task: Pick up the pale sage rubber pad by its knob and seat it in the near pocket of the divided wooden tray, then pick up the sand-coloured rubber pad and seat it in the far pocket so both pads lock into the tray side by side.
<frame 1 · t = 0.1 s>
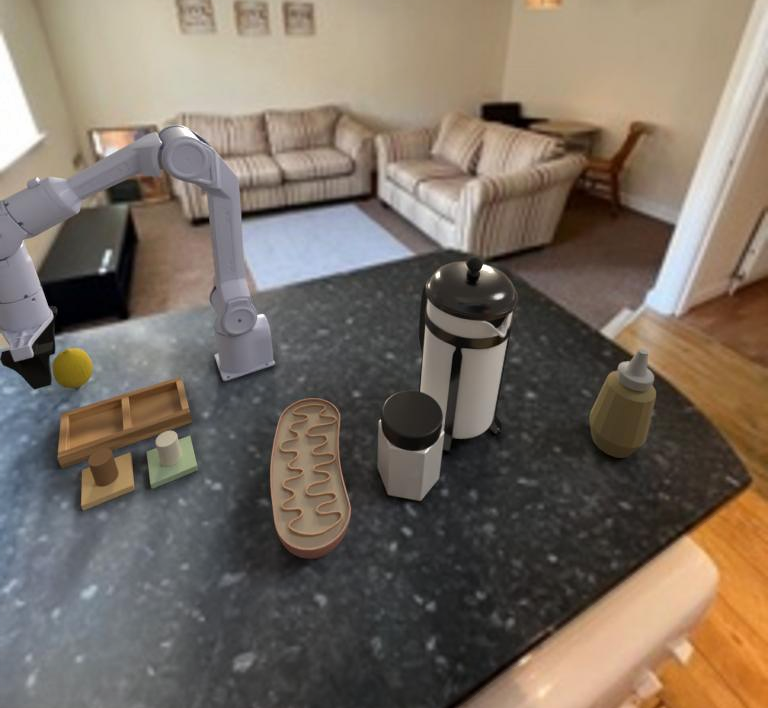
hand: (45, 369, 67), 10 cm above the worktop, tool pointing down, fingers open, 7 cm apart
sage pad: (172, 463, 65), on the worktop
coffee press: (448, 414, 75), on the worktop
lemon: (79, 387, 78), on the worktop
squeeze bottle: (611, 443, 70), on the worktop
anatomical model: (309, 487, 62), on the worktop
divided wooden tray: (129, 423, 71), on the worktop
jar: (407, 474, 64), on the worktop
sand pad: (108, 482, 62), on the worktop
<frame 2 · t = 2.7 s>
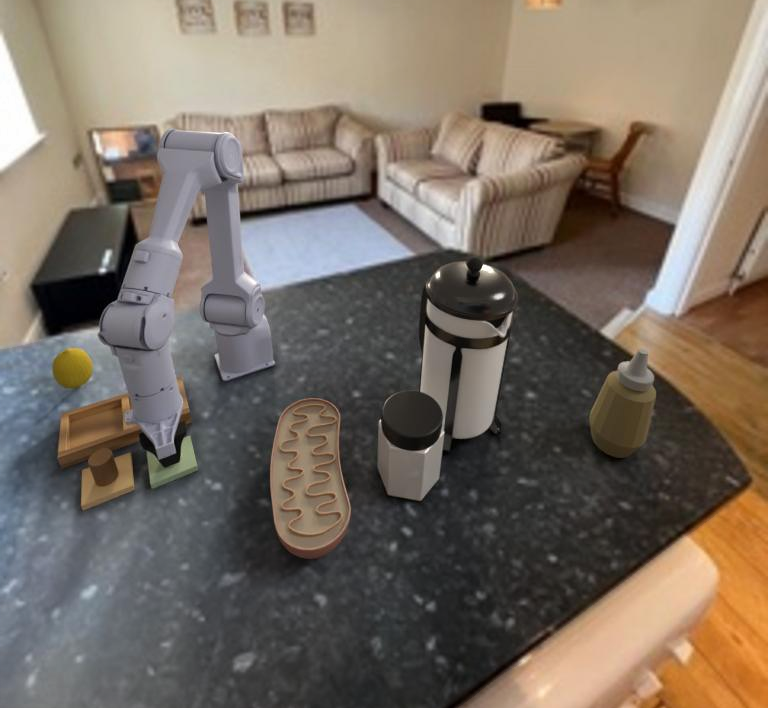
hand: (170, 453, 64), 2 cm above the worktop, tool pointing down, fingers closed on sage pad, 3 cm apart
sage pad: (172, 463, 65), on the worktop, touching gripper
everything else where it was.
when the fingers open (3 cm above the worktop, at t = 6.0 s): sage pad stays where it is, resting on divided wooden tray.
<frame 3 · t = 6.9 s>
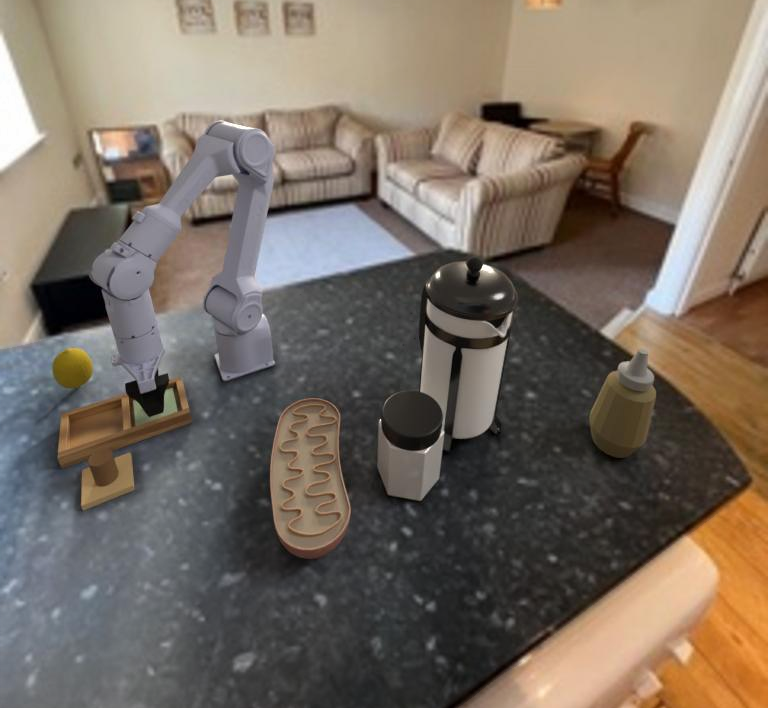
hand: (153, 396, 71), 4 cm above the worktop, tool pointing down, fingers open, 7 cm apart
sage pad: (156, 410, 72), point 1 cm above the worktop, touching divided wooden tray
everything else where it was.
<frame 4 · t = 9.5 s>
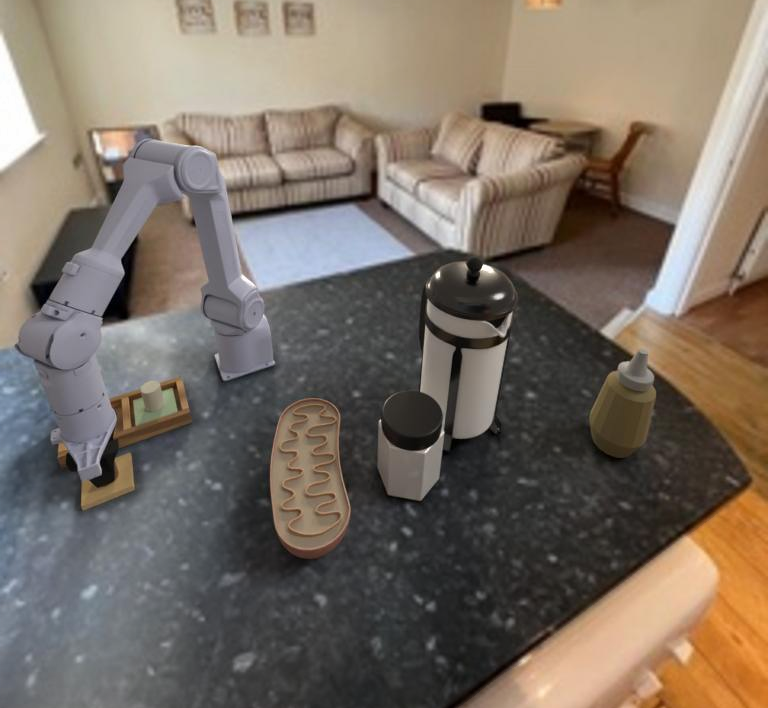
hand: (105, 472, 61), 2 cm above the worktop, tool pointing down, fingers closed on sand pad, 3 cm apart
sand pad: (108, 482, 62), on the worktop, touching gripper
everything else where it was.
when the fingers open (3 cm above the worktop, at t = 12.6 s): sand pad stays where it is, resting on divided wooden tray.
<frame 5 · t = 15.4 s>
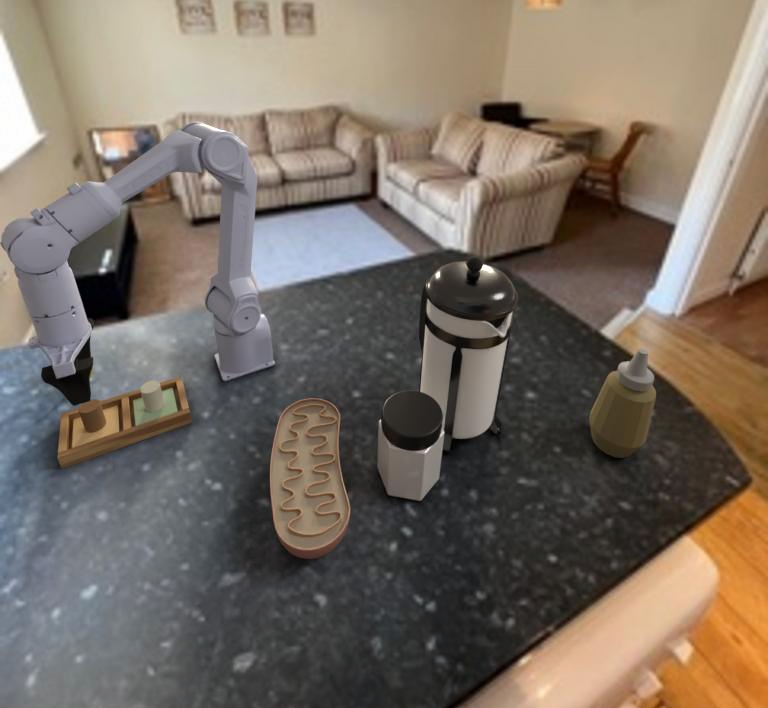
hand: (82, 384, 65), 10 cm above the worktop, tool pointing down, fingers open, 7 cm apart
sand pad: (97, 430, 69), point 1 cm above the worktop, touching divided wooden tray
everything else where it was.
at the end: sage pad 0.1 cm from the target spot in the divided wooden tray, point 0.8 cm above the divided wooden tray's base; sand pad 0.0 cm from the target spot in the divided wooden tray, point 0.8 cm above the divided wooden tray's base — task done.
